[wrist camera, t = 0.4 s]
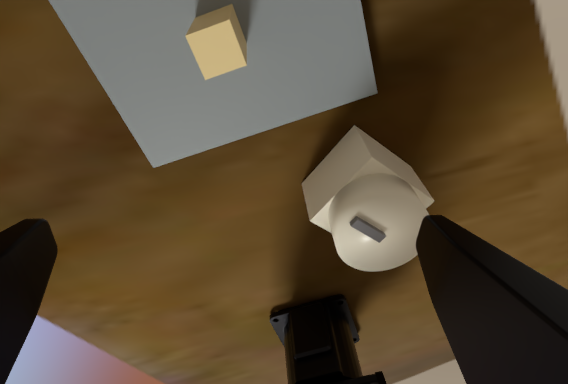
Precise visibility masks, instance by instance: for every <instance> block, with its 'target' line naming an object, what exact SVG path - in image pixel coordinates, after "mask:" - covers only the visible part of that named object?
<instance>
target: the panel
mask: <svg viewBox="0 0 568 384" xmlns="http://www.w3.org/2000/svg"><path fill="white" fill-rule="evenodd" d="M49 2H50V3H51V5H52V6H53V8H54V10H55V11H56V13H57V14H58V16H59V18H60V19H61V21H62V22H63V24H64V26H65V27H66V29H67V30H68V32H69V34H70V35H71V37H72V38H73V40H74V42H75V43H76V45H77V46H78V48H79V50H80V51H81V53H82V54H83V56H84V58H85V59H86V61H87V62H88V64H89V66H90V67H91V69H92V70H93V72H94V74H95V75H96V77H97V78H98V80H99V82H100V83H101V85H102V86H103V88H104V90H105V91H106V93H107V94H108V96H109V98H110V99H111V101H112V102H113V104H114V106H115V107H116V109H117V110H118V112H119V114H120V115H121V117H122V118H123V120H124V122H125V123H126V125H127V126H128V128H129V130H130V131H131V133H132V134H133V136H134V138H135V139H136V141H137V142H138V144H139V146H140V147H141V149H142V150H143V152H144V154H145V155H146V157H147V158H148V160H149V162H150V163H151V165H152V166H153V168H155V167H158V166H161V165H164V164H167V163H170V162H173V161H176V160H179V159H182V158H185V157H188V156H191V155H194V154H197V153H200V152H203V151H206V150H209V149H212V148H215V147H218V146H221V145H224V144H227V143H230V142H233V141H236V140H239V139H242V138H245V137H248V136H251V135H254V134H257V133H260V132H263V131H266V130H269V129H272V128H275V127H278V126H281V125H284V124H287V123H290V122H293V121H296V120H299V119H302V118H305V117H308V116H311V115H314V114H317V113H320V112H323V111H326V110H329V109H332V108H335V107H338V106H341V105H344V104H347V103H350V102H353V101H356V100H359V99H362V98H365V97H368V96H371V95H374V94H377V88H376V82H375V76H374V71H373V65H372V60H371V54H370V49H369V43H368V38H367V32H366V27H365V21H364V16H363V10H362V5H361V0H49Z"/></svg>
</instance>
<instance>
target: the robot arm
mask: <svg viewBox="0 0 568 384" xmlns="http://www.w3.org/2000/svg"><path fill="white" fill-rule="evenodd" d="M416 250H417V254H418V257H419V261H420V264H421V267H422V271H423V274H424V277H425V281H426V284H427V288H428V291H429V294H430V297H431V300H432V303H433V306H434V308H435V311H436V313H437V315H438V318H439V320H440V322H441V325H442V327H443V330H444V332H445V334H446V337H447V339H448V341H449V344H450V346H451V348H452V351H453V353H454V355H455V358H456V360H457V362H458V365H459V367H460V369H461V372H462V374H463V377H464V379H465V381H466V383H467V384H568V290H567V289H566V288H564V287H562V286H561V285H559V284H557V283H556V282H554V281H552V280H550V279H549V278H547V277H545V276H544V275H542V274H540V273H539V272H537V271H535V270H534V269H532V268H530V267H528V266H527V265H525V264H523V263H522V262H520V261H518V260H517V259H515V258H513V257H512V256H510V255H508V254H507V253H505V252H503V251H501V250H500V249H498V248H496V247H495V246H493V245H491V244H490V243H488V242H486V241H485V240H483V239H481V238H479V237H478V236H476V235H474V234H473V233H471V232H469V231H468V230H466V229H464V228H463V227H461V226H459V225H458V224H456V223H454V222H452V221H451V220H449V219H447V218H446V217H444V216H442V215H427V216H425V217H424V218H423V220H422V223H421V226H420V229H419V232H418V236H417V239H416ZM56 257H57V244H56V242H55V239H54V236H53V234H52V231H51V228H50V225H49V223H48V222H47V221H46V220H45V219H24V220H22V221H20V222H18V223H17V224H15V225H13V226H11V227H9V228H7V229H5V230H4V231H2V232H0V384H5V382H6V380H7V378H8V376H9V374H10V371H11V369H12V367H13V365H14V363H15V361H16V359H17V357H18V355H19V352H20V350H21V348H22V346H23V344H24V342H25V340H26V337H27V335H28V333H29V331H30V329H31V326H32V325H33V322H34V320H35V318H36V315H37V313H38V310H39V308H40V305H41V302H42V299H43V296H44V293H45V290H46V287H47V284H48V281H49V278H50V275H51V272H52V269H53V266H54V263H55V260H56ZM270 323H271V324H272V326H273V328H274V330H275V331H276V333H277V335H278V337H279V338H280V340H281V342H282V344H283V345H284V347H285V356H286V367H287V378H288V384H386V381H385V378H384V375H383V373H382V371H380V372H375V374H372V375H366V376H363V375H362V372H361V368H360V364H359V360H358V356H357V352H356V349H355V345H354V343H356V342H358V341H359V335H358V332H357V329H356V327H355V324H354V321H353V318H352V315H351V312H350V309H349V307H348V304H347V301H346V298H345V296H343V295H337V296H333V297H330V298H326V299H322V300H319V301H315V302H311V303H308V304H304V305H300V306H297V307H293V308H290V309H286V310H282V311H279V312H275V313H272V314H271V315H270Z"/></svg>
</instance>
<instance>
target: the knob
mask: <svg viewBox="0 0 568 384" xmlns="http://www.w3.org/2000/svg"><path fill="white" fill-rule="evenodd" d="M302 188H303V192H304V197H305V202H306V206H307V211H308V215H309V220H310V222H312V223H314V224H316V225H318V226H319V227H321V228H323V229H325V230H327V231H328V232H330V233H332V236H333V239H334V243H335V247H336V250H337V253H338V255H339V256H340V258H341V259H342V260H343V261H344V262H345V263H346V264H347V265H349V266H351V267H353V268H355V269H358V270H362V271H370V272H375V271H384V270H389V269H393V268H396V267H398V266H401V265H403V264H405V263H407V262H408V261H410V260H411V259H413V258H414V257H416V256H417V255H418V254H417V250H416V239H417V236H418V232H419V229H420V226H421V223H422V220H423V218H424V217H425V216H427V215H429V213H428V212H427V210H426V208H427V207H429V206H430V205H431V204H432V203H433V202H434V199H433V198H432V197H431V195H430V194H429V192H428V191H427V189H426V188H425V186H424V185H423V183H422V182H421V181H420V179H419V178H418V176H417V175H416V173H415V172H414V170H413V169H412V167H411V166H410V165H408V164H407V163H406V162H404V161H403V160H402V159H400V158H399V157H398V156H396V155H395V154H393V153H392V152H391V151H389V150H388V149H387V148H385V147H384V146H382V145H381V144H380V143H378V142H377V141H376V140H374V139H373V138H372V137H370V136H369V135H367V134H366V133H365V132H363V131H362V130H361V129H359V128H358V127H357V126H355V125H354V126H353V127H352V128H351V129H350V130H349V131H348V133H347V134H346V135H345V136H344V137H343V138H342V139H341V140H340V141H339V143H338V144H337V145H336V146H335V147H334V148H333V149H332V150H331V151H330V153H329V154H328V155H327V156H326V157H325V158H324V159H323V160H322V161H321V163H320V164H319V165H318V166H317V167H316V168H315V169H314V170H313V171H312V173H311V174H310V175H309V176H308V177H307V178H306V179H305V180H304V181H303V183H302Z"/></svg>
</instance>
